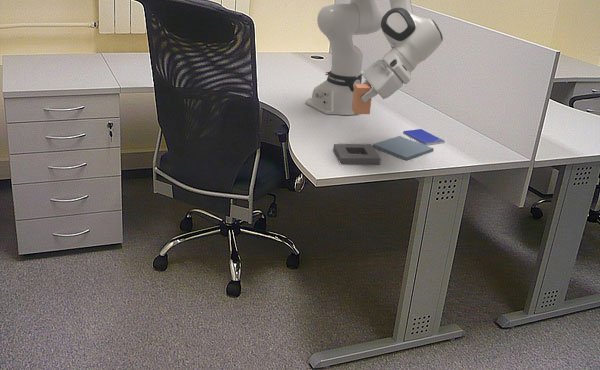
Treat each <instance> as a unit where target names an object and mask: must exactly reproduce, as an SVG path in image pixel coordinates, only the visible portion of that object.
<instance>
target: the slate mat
mask: <svg viewBox="0 0 600 370" xmlns="http://www.w3.org/2000/svg"><path fill="white" fill-rule="evenodd" d="M371 145H372V147H373V148H374V149H376V150H378V151H382V152H384V153H385V154H386V153H387V154H389V155H391V156H394V157H396V158H400V159H402V160H404V161H409V160H412V159H414V158H418V157H420V156H423V155H426V154H429V153H432V152H434V147H431V146H430V145H428V146H426V145H423V144H421V143H419V142H417V141H415V140H413V139H409V138H407V137H404V136H401V135H399V136H395V137H392V138H388V139H385V140H381V141H379V142H375V143H371Z"/></svg>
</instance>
